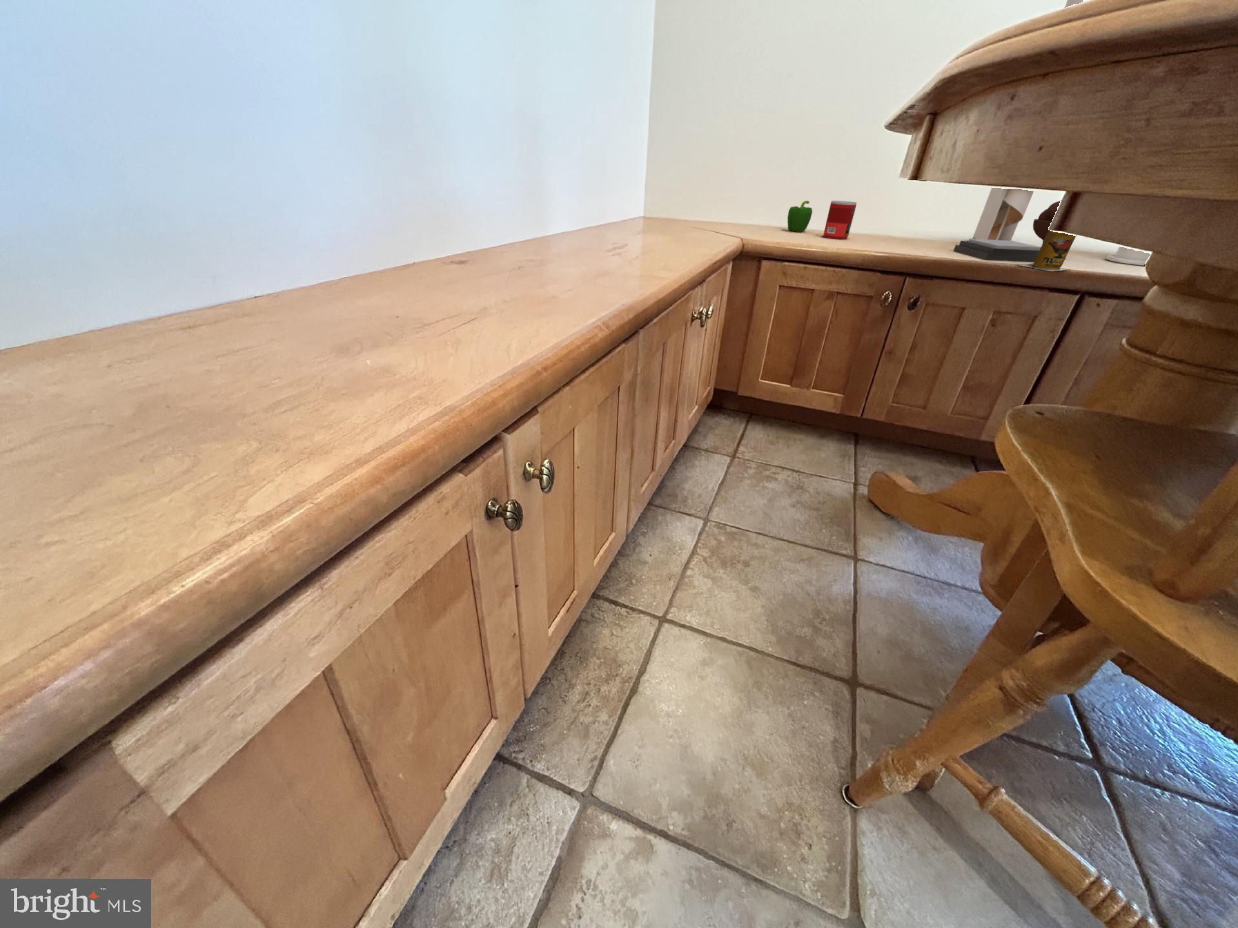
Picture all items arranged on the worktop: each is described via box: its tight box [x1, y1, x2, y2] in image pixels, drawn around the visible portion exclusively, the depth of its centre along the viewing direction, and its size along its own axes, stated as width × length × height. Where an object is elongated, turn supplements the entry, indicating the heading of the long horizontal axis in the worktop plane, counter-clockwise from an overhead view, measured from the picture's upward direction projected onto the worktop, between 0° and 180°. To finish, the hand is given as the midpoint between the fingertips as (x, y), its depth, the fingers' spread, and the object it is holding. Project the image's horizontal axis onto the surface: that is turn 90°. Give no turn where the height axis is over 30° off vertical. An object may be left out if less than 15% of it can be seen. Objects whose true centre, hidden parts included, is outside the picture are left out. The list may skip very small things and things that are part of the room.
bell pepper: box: [787, 200, 813, 233], centre depth 179 cm, size 8×8×10 cm
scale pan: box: [967, 238, 1041, 250], centre depth 146 cm, size 13×13×1 cm
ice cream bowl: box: [1032, 200, 1061, 242], centre depth 150 cm, size 11×11×15 cm
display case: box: [971, 187, 1034, 241], centre depth 156 cm, size 11×11×35 cm
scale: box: [953, 240, 1039, 263], centre depth 147 cm, size 18×16×3 cm
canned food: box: [823, 200, 858, 240], centre depth 167 cm, size 8×8×11 cm
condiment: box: [1020, 230, 1077, 272], centre depth 129 cm, size 7×8×12 cm
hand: (1034, 129), depth 130 cm, fingers open, 9 cm apart
